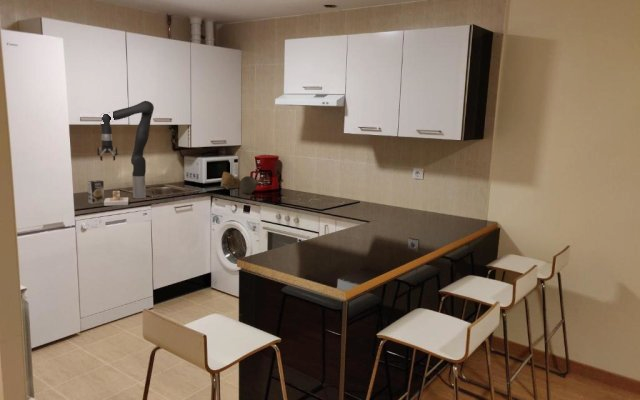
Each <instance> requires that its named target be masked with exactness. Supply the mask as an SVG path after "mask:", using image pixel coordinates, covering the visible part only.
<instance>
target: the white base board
mask: <svg viewBox="0 0 640 400" xmlns="http://www.w3.org/2000/svg"><path fill="white" fill-rule="evenodd" d="M103 205H104V206H128V205H129V197H128V196H127V197H120V200H113V197H104V203H103Z"/></svg>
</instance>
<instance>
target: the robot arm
mask: <svg viewBox="0 0 640 400" xmlns="http://www.w3.org/2000/svg"><path fill="white" fill-rule="evenodd" d="M154 109H155V108H154V103H152V102H151V101H148V100H143V101H141V102H140V103H137V104H134V105H131V106H127V107H125V108H121V109H117V110H114V111H112V112H113V118H114V120H115V121H117V120H118V121H119V120H123V119H127V118H129V117H131V116H133V115H137V114H141V117H140V121H139V123H138V125H137V128H136V132H135V140H134V146H133V150H132V154H131V157H130V158H131V159H130V162H131V164H132V167H133V169H132V170H133V171H132V173H131V174H132V175H131V177H132V197H133V198H134V199H145V198H147V194H146V193H147V191H146V190H147V189H146V172H147V171H146V169H147V168H146V167H147V166H146V165H147V163H146V158H145V157H144V152H145V151H144V150H145V148H146V146H147V143H148V141H149V136H150V129H151V120H152V117H153V113H154ZM103 114H104V113H103ZM102 120H103V122H104V124H101V123H100V127H101V147H100V146H99V147H97V156H99V159H100V161H101V162H102V161H103V154H111V155H112V158H113V159H112V160H113V162H114V161H116V157H117V156H118V154H119V152H118V147H117V146H115V147H113V135H112V134H113V133H112V127H111V122H110V120H111V117H110V116H109V115H108V114H104V115H103V117H102ZM101 150H102V152H101V153H100V151H101ZM114 151H115V152H114Z"/></svg>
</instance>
